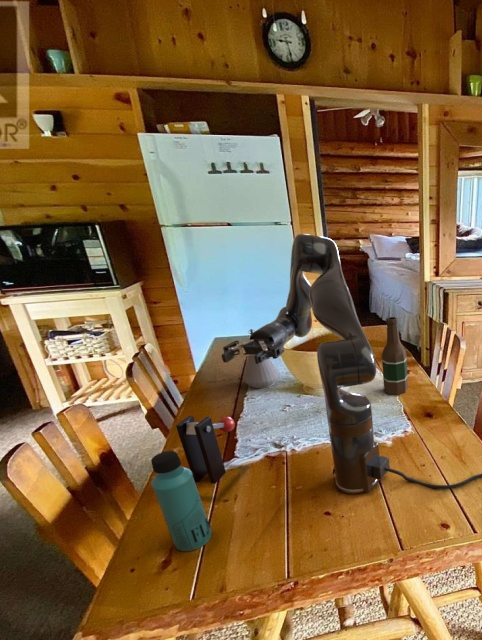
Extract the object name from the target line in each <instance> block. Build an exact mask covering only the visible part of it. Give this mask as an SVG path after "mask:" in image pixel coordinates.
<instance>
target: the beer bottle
mask: <svg viewBox="0 0 482 640" xmlns="http://www.w3.org/2000/svg"><path fill="white" fill-rule="evenodd" d="M385 323H386V344H385V346H384V347H383V350H382V353H381V364H382V378H383V389H384V392H385V393H387V394H389V395H391V396H394V395H395V396H399V395H402V394H405V393H407V390H408V388H409V381H408V379H409V378H408V359H407V358H408V357H407V351H406V349H405V346H403V345H402V343H401V340H400V333H399V324H398V323H399V318H398V317H395V316H389V317H387V318H386V320H385Z"/></svg>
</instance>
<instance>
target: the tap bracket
mask: <svg viewBox="0 0 482 640" xmlns="http://www.w3.org/2000/svg"><path fill="white" fill-rule="evenodd" d="M192 422H196V420H195V417H194V415H188V416H186V417H185V418H184V419H182V420H181V421H180V422H179V423H177V424H176V425H175V427H176V431H177V434H178V437H179V440H180V443H181V447H182V449H183V452H184V456H185V458H186V462H187V465H188V469H190V470H191V471H192V474H193V478H194V481H195V483H196V484H198V483H200V482H201V481H202V480H203V478H205V477H206V476H207V475H208V478H209V481H210V484H213V485H216V484H217V482H218V481H219V480H220V479H221V478H222V477H224V475H225V474H226V473H227V471H226V466H225V464H224V460H223V456H222V453H221V450H220V445H219V443H218V439H217V435H216V431H215V429H214V428H213V424H214V423H213V421H212V417H211V416H205V417H204V418H203V419H201V420H200V421H198V422H199V423H198V424H196V425H195V426H194V429H195V432H196V435H189V434H186V427H187V423H192Z"/></svg>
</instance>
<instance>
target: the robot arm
mask: <svg viewBox="0 0 482 640" xmlns="http://www.w3.org/2000/svg"><path fill="white" fill-rule="evenodd" d="M291 245H292V246H291V253H290V254H291V255H290V265H289V266H290V267H289V290H288V296H287V299H286V302H285V303H286V304H285V306H284V307H282V308H281V309H280V310H279V312H278V313H277V316H276V318H275V319H274V320H272V321H271V322H268V323H267V324H264V325H263V326H261V327H259V328H257V330H255V331H253V333H252V335H250V336H249V339H248V340H246V341H244V342H240V340H234V341H232V342H230V343H228V344H227V345H225V346H223V347H222V350H223V353H222V354H221V359H222V363H225V364H226V363H229V362H231V360H233V359H235V358H238V357H240V358H245V357H248V356H249V355H255V357H254V358H255V363H256V364H260V363H261V362H263V361H264V360H266V359H270V360H271V358H272V359H273V360H276V359H279V357H281V355H282V354H283V353H284V352H285V347H284V346H285V345H286V344H287V343H288V342H290V341H291V340H292V339H293V338H294V337H297V338H304V337H306V336H307V335H308V334H310V332H311V330H312V327H313V318H312V314H313V316H314V319H315V320H316V321H317V322H318V323H319V324H320V326H322V327H323V328H325V329H326V330H327V331H329V332H331V333H332V334H334V335H336V336H338V337H339V338H341V339H339V340H331V341H325V342H321V343H320V344H319V345H318V347H317V350H316V359H317V366H318V371H319V375H320V381H321V385H322V390H323V397H324V403H325V411H326V419H327V427H328V433H329V441H330V447H331V448H330V449H331V455H332V461H333V468H332V475H333V476H335V485H336V487H337V489H338V490H339V491H341V492H342V493H346V494H353V495H354V494H355V495H356V494H361V493H365V494H369V493H370V492H371V491H372V490H373V488H374V487H376V485H377V484H378V483H379V481H381V480H382V479H383V478H384V477H385V476H386V474H387V473H388V472H389V473H392V474H395V475H398V476H400V477H402V479H404V480H405V481H408V482H410V483H414V484H417V485H420V486H424V487H427V488H430V489H435V490H436V489H437V490H450V489H456V488H460V487H462V486H465V485H467V484H469V483H471V482H472V481H474V480H477V479H480V478H482V473H479V474H475V475H473V476H471V477H469V478H466V479H465V480H463V481H461V482H460V481H459V482H458V483H453V484H444V485H443V484H442V485H441V484H440V485H439V484H430V483H426V482H422V481H420V480H417V479H414V478H412V477H409V476H407V475H406V474H405V472H402V471H401V470H400V471H399V470H397V469H394V468H391V467H390V458H389V457H387V456H383V455H380V446H379V443H378V442H375V433H374V422H373V411H372V404H371V401H370V399H369V398H368V397H367V396H365V395H363V394H361V393H360V394H359V393H355V392H350V391H346V390H344V389H342V388H348V387H355V386H361V385H365V384H369V383H371V382H373V381H374V379H375V378H376V375H377V363H376V358H375V355H374V350H373V348H372V345H371V344H370V342H369V340H368V337H367V335H366V333H365V331H364V328H363V327H362V324H361V323H360V320H359V317H358V315H357V311H356V306H355V304H354V300H353V297H352V295H351V292H350V290H349V289H350V288H349V287H348V285H347V282H346V279H345V276H344V273H343V269H342V264H341V259H340V255H339V250H338V247H337V244H336V243H335V241H334V240H332V239H331V238H328V237H325V236H319V235H314V234H313V235H312V234H308V233H298V234H296V235H295V237H294V239H293V242H292V244H291ZM304 273H310V274H318V275H319V276H317V278H315V280H314V281H313V283H312V284H310V282H309V280H307V278H306V277H305V274H304ZM243 351H244V352H243Z"/></svg>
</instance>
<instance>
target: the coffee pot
mask: <svg viewBox="0 0 482 640" xmlns="http://www.w3.org/2000/svg"><path fill="white" fill-rule="evenodd" d="M255 331H256V330H255V329H252V328H250V329H249V330H248V331H247V333H248V334H250V336H251V335H252V333H253V332H255ZM254 357H255V355H249V356H247V361H246V364H245V369H244V373H243V377H242V379H243V381H244V384H247V385H248V386H249V387H251V388H253V389H265V388H269V387H272V386H274V385H275V384H276V382H277V381H279V378H280V372H279V369H277V367H276V366H275V364H274V363H273V361H272V360H271V358H270V359H266V360H264V361H263V362H261V363H260V364H256V363H255V358H254Z"/></svg>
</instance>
